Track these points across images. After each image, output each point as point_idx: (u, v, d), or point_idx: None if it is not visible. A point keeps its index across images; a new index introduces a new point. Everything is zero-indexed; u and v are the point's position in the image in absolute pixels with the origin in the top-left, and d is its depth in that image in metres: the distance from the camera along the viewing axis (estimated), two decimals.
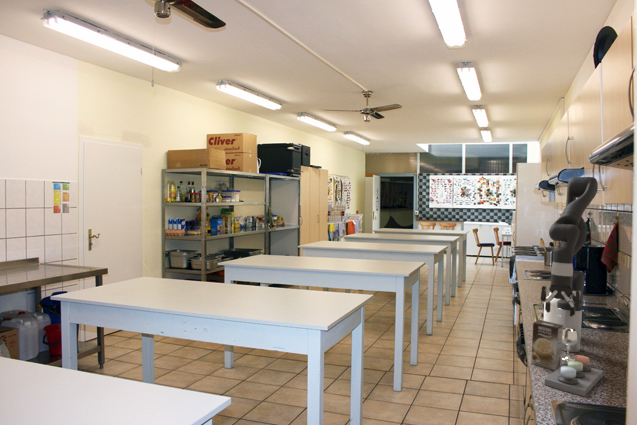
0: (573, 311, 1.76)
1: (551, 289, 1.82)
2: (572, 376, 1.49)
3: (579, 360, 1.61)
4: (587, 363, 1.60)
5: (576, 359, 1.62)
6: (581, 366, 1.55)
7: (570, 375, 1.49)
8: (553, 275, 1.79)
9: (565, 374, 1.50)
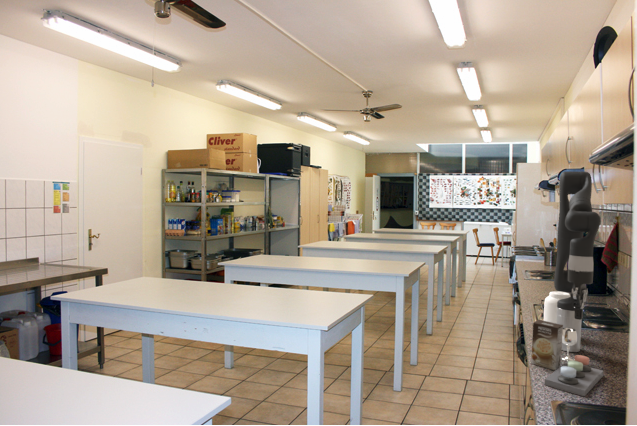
0: None
1: (580, 289, 1.52)
2: (572, 376, 1.49)
3: (579, 360, 1.61)
4: (587, 363, 1.60)
5: (576, 359, 1.62)
6: (581, 366, 1.55)
7: (570, 375, 1.49)
8: (588, 272, 1.52)
9: (565, 374, 1.50)
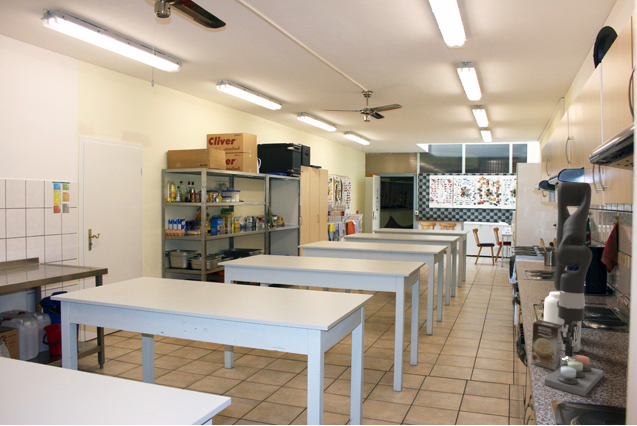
0: None
1: (571, 327, 1.47)
2: (572, 376, 1.49)
3: (579, 360, 1.61)
4: (587, 363, 1.60)
5: (576, 359, 1.62)
6: (581, 366, 1.55)
7: (570, 375, 1.49)
8: (579, 309, 1.47)
9: (565, 374, 1.50)
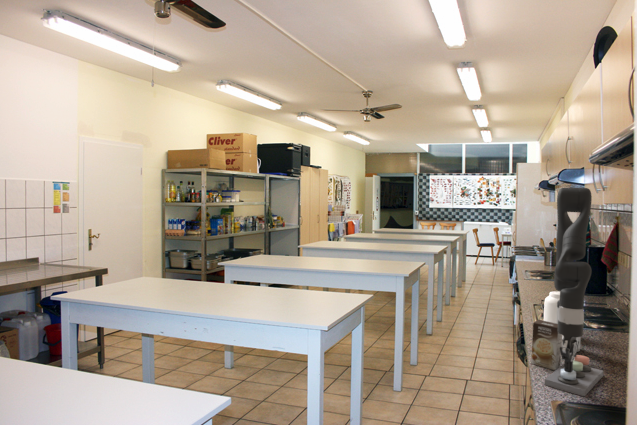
0: None
1: (570, 343, 1.48)
2: (572, 378, 1.49)
3: (579, 360, 1.61)
4: (587, 363, 1.60)
5: (576, 359, 1.62)
6: (581, 366, 1.55)
7: (570, 377, 1.49)
8: (578, 325, 1.47)
9: (565, 376, 1.50)
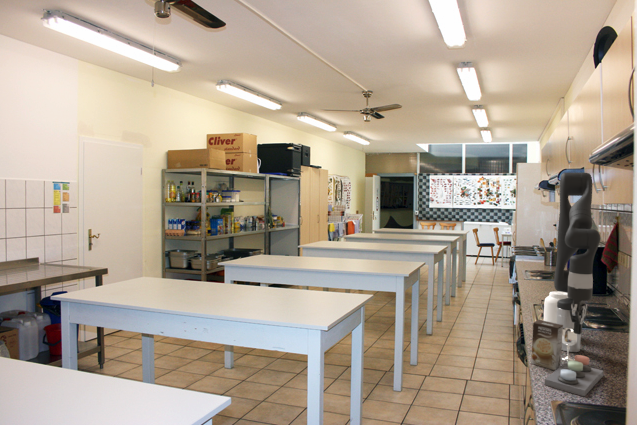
0: None
1: (579, 306, 1.55)
2: (572, 379, 1.49)
3: (579, 360, 1.61)
4: (587, 363, 1.60)
5: (576, 359, 1.62)
6: (581, 366, 1.55)
7: (570, 378, 1.49)
8: (587, 289, 1.54)
9: (565, 377, 1.50)
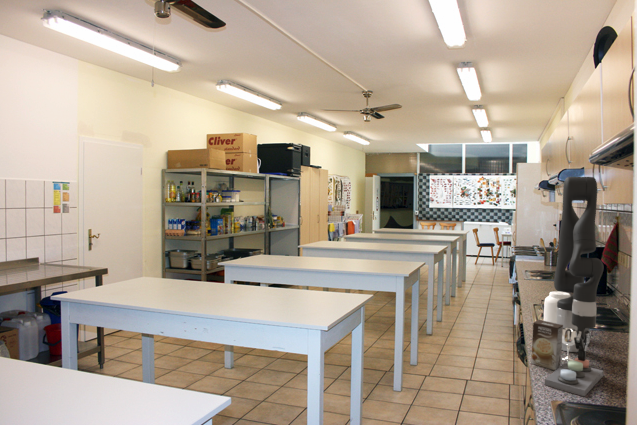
0: None
1: (584, 333, 1.59)
2: (572, 379, 1.49)
3: None
4: (586, 365, 1.60)
5: None
6: (581, 366, 1.55)
7: (570, 378, 1.49)
8: (591, 317, 1.58)
9: (565, 377, 1.50)
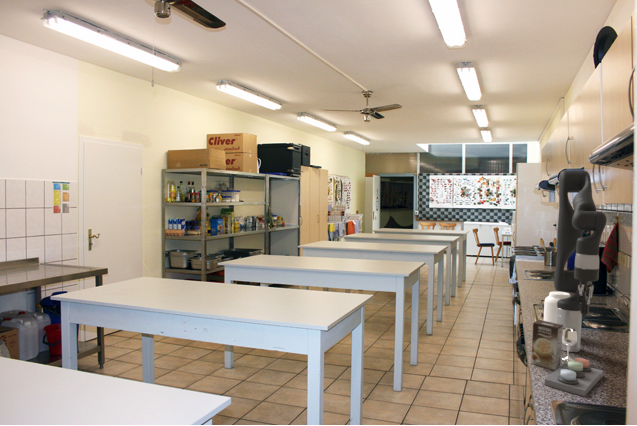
0: None
1: (586, 286, 1.59)
2: (572, 379, 1.49)
3: None
4: (586, 366, 1.60)
5: None
6: (581, 366, 1.55)
7: (570, 378, 1.49)
8: (594, 270, 1.58)
9: (565, 377, 1.50)
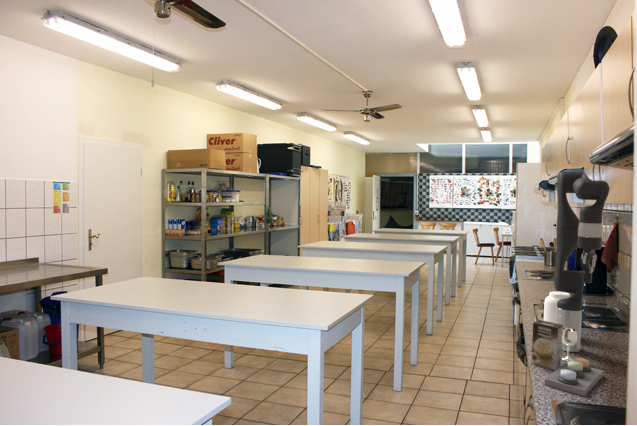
0: None
1: (590, 254, 1.60)
2: (572, 379, 1.49)
3: None
4: (586, 366, 1.60)
5: None
6: (581, 366, 1.55)
7: (570, 378, 1.49)
8: (597, 238, 1.59)
9: (565, 377, 1.50)
